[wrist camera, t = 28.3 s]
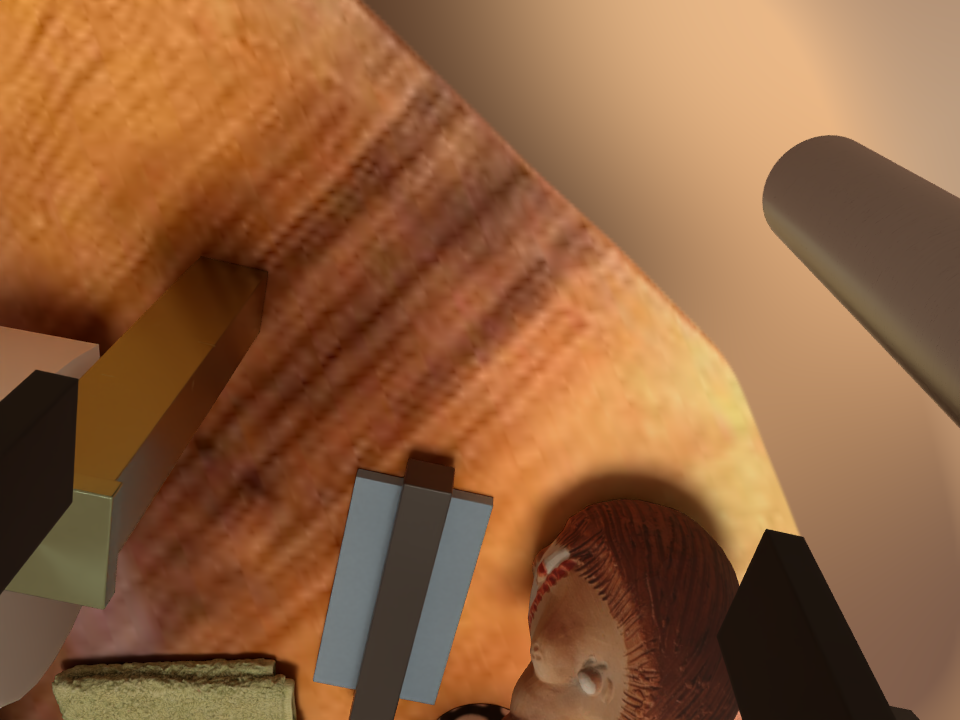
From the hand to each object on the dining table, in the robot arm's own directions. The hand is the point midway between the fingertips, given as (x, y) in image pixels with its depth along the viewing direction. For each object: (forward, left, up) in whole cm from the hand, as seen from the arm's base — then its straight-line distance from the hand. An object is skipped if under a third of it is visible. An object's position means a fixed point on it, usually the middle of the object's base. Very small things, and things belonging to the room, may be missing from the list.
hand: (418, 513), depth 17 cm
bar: (-2, +31, -34) cm, 46 cm away
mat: (-2, +31, -35) cm, 47 cm away
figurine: (-15, +26, -35) cm, 46 cm away
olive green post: (+12, +12, -35) cm, 39 cm away
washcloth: (+11, +47, -35) cm, 60 cm away
